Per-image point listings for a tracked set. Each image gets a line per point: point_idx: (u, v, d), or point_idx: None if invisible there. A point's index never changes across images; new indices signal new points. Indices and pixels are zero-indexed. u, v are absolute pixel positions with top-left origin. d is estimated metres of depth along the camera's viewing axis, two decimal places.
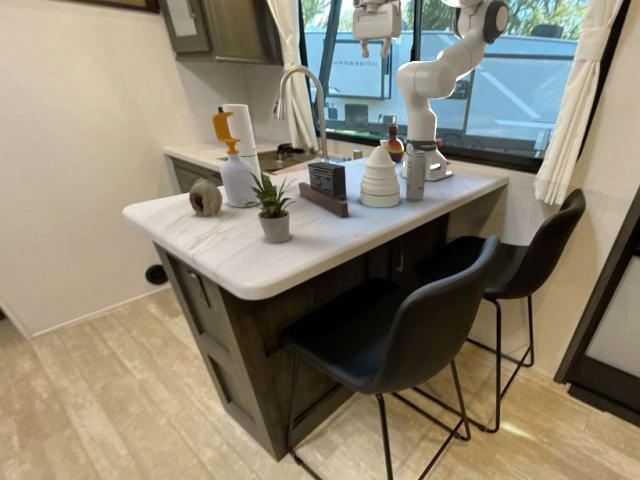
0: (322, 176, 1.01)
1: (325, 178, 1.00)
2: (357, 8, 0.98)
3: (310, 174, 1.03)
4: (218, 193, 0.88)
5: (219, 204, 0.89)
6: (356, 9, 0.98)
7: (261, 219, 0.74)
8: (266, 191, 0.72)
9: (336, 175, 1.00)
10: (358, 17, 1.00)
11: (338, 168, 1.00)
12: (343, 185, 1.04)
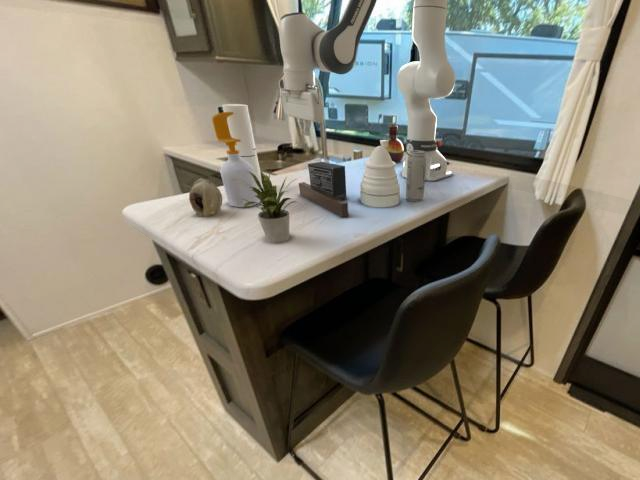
0: (322, 176, 1.01)
1: (325, 178, 1.00)
2: (283, 90, 1.00)
3: (310, 174, 1.03)
4: (218, 193, 0.88)
5: (219, 204, 0.89)
6: (283, 91, 1.01)
7: (261, 219, 0.74)
8: (266, 191, 0.72)
9: (336, 175, 1.00)
10: (286, 97, 1.02)
11: (338, 168, 1.00)
12: (343, 185, 1.04)
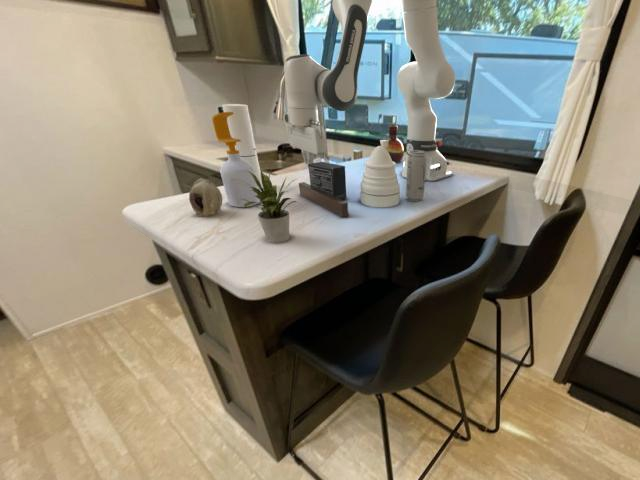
0: (322, 176, 1.01)
1: (325, 178, 1.00)
2: (288, 124, 1.06)
3: (310, 174, 1.03)
4: (218, 193, 0.88)
5: (219, 204, 0.89)
6: (287, 124, 1.06)
7: (261, 219, 0.74)
8: (266, 191, 0.72)
9: (336, 175, 1.00)
10: (291, 129, 1.08)
11: (338, 168, 1.00)
12: (343, 185, 1.04)
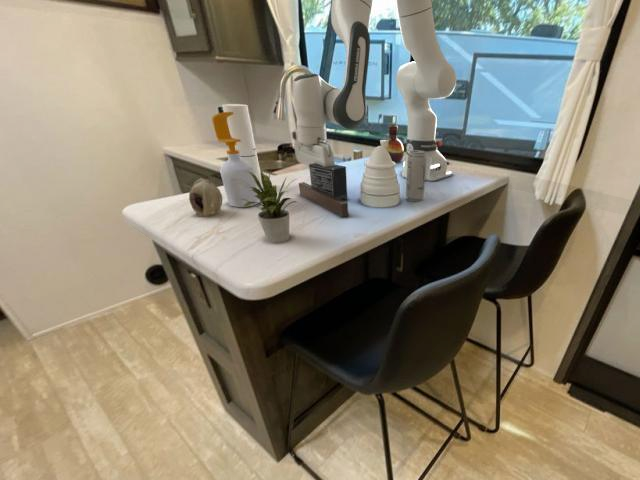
0: (322, 177, 1.00)
1: (326, 178, 1.00)
2: (296, 141, 1.06)
3: (311, 174, 1.03)
4: (218, 193, 0.88)
5: (219, 204, 0.89)
6: (295, 141, 1.06)
7: (261, 219, 0.74)
8: (266, 191, 0.72)
9: (337, 175, 0.99)
10: (298, 146, 1.08)
11: (339, 169, 0.99)
12: (344, 186, 1.03)
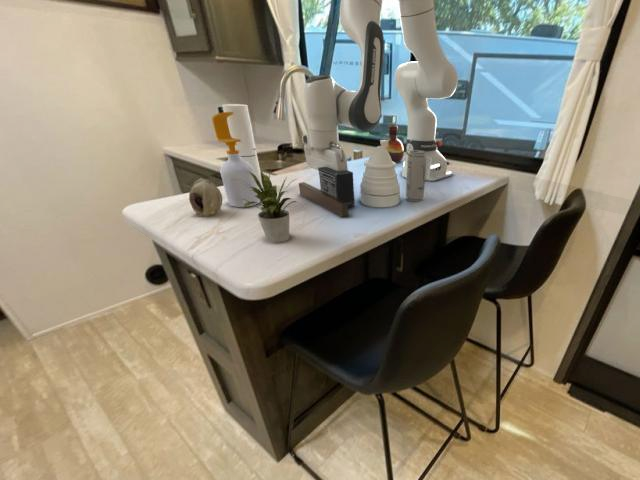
0: (328, 182, 0.96)
1: (331, 183, 0.95)
2: (307, 145, 1.02)
3: (320, 178, 0.99)
4: (218, 193, 0.88)
5: (219, 204, 0.89)
6: (306, 145, 1.02)
7: (261, 219, 0.74)
8: (266, 191, 0.72)
9: (341, 181, 0.94)
10: (309, 150, 1.04)
11: (343, 174, 0.93)
12: (350, 193, 0.97)
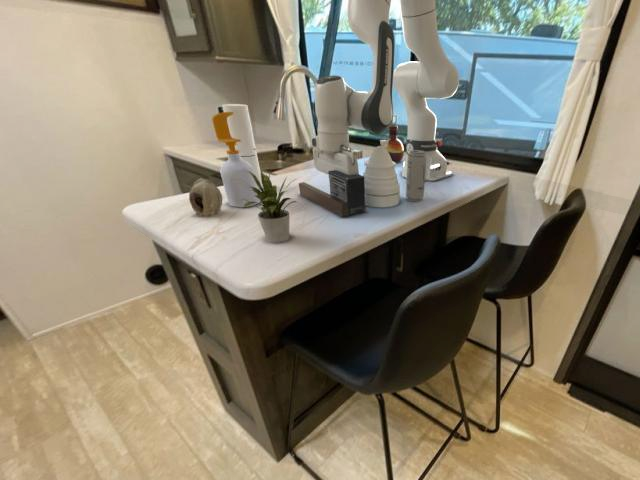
0: (338, 186, 0.93)
1: (341, 188, 0.92)
2: (315, 148, 0.98)
3: (330, 182, 0.96)
4: (218, 193, 0.88)
5: (219, 204, 0.89)
6: (315, 148, 0.99)
7: (261, 219, 0.74)
8: (266, 191, 0.72)
9: (352, 186, 0.90)
10: (318, 154, 1.00)
11: (355, 179, 0.90)
12: (361, 197, 0.94)
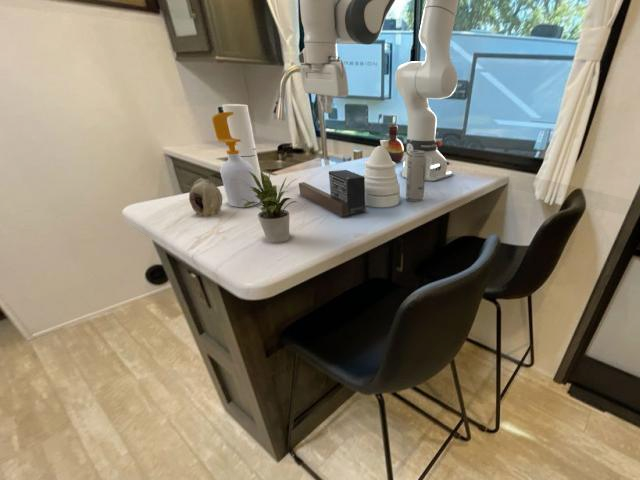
0: (339, 186, 0.93)
1: (341, 188, 0.92)
2: (303, 65, 0.95)
3: (330, 182, 0.96)
4: (218, 193, 0.88)
5: (219, 204, 0.89)
6: (302, 66, 0.96)
7: (261, 219, 0.74)
8: (266, 191, 0.72)
9: (352, 186, 0.91)
10: (306, 73, 0.97)
11: (355, 178, 0.90)
12: (361, 198, 0.94)
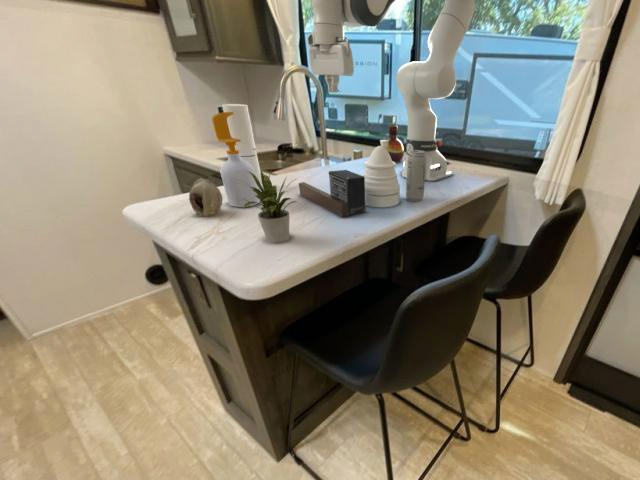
0: (339, 186, 0.93)
1: (341, 188, 0.92)
2: (312, 47, 1.02)
3: (330, 182, 0.96)
4: (218, 193, 0.88)
5: (219, 204, 0.89)
6: (311, 47, 1.02)
7: (261, 219, 0.74)
8: (266, 191, 0.72)
9: (352, 186, 0.91)
10: (314, 54, 1.04)
11: (355, 179, 0.90)
12: (361, 198, 0.94)
